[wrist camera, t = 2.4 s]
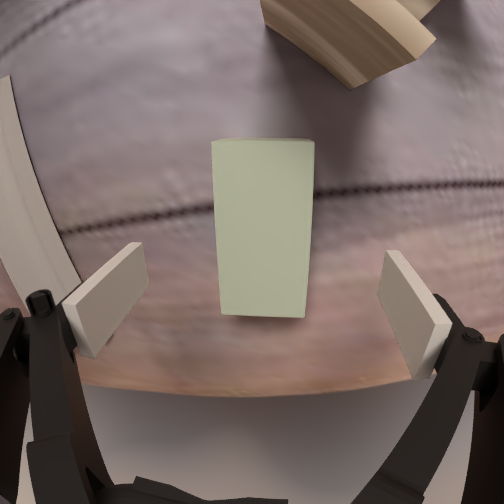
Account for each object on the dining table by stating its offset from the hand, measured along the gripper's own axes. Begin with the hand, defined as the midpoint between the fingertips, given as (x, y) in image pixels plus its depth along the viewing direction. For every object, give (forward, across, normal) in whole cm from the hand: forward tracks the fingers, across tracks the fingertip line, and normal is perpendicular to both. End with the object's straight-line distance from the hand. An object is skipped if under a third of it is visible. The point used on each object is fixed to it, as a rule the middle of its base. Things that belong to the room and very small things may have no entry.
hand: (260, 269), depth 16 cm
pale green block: (+9, 0, 0) cm, 9 cm away
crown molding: (+9, -28, 0) cm, 29 cm away
